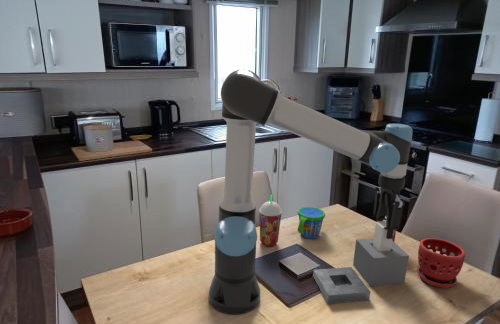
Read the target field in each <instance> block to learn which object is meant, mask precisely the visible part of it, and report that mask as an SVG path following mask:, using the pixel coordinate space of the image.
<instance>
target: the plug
mask: <svg viewBox="0 0 500 324" xmlns="http://www.w3.org/2000/svg"><path fill="white" fill-rule="evenodd" d="M374 227H375V228H374V235H373V238H374V240H373V247H374V248H375V249H376V250H377V251H378V252H387V251H390V250H391V247H382V240H383V233H384V227H386V222H377V221H376V223H375V226H374ZM394 231H395V230H394ZM394 231H393V236H394ZM391 244H392V241H391Z"/></svg>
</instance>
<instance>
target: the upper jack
mask: <svg viewBox="0 0 500 324" xmlns="http://www.w3.org/2000/svg"><path fill="white" fill-rule="evenodd" d="M373 240H374V237H372V238H358V239H355V247H354V254H353V260H352V262H353V263H352V265H353V267H354V269H356V271H357V272H358V274H360V277H362V279H363V280H364V281H365V282H366V284H367V285H368V286H369V287H374V286H376V287H377V286H388V285H401V284H405V281H406V276H407V270H408V264H409V260H410V259H409V258H410V255H409V254H408V253H407V252H405V250H403V248H401V247H400V246H399V245H398V244H397V243H396V242H395V241H394V242H393V241H392V244H391V250H390V251H387V252H378V251H377V250H376V249H375V248H374V247H373Z"/></svg>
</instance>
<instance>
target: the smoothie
mask: <svg viewBox="0 0 500 324" xmlns="http://www.w3.org/2000/svg"><path fill="white" fill-rule="evenodd" d="M258 213H259V241H260V243H261V245H262V246H264V247H267V248H272V247H275V246H276V245H277V243H279V235H280V227H281V219H282V213H283V210H282V209H281V207H280V204H278V202H275V201H273V194H270V196H269V200H268V201H266V202H264V203H263V204H262V205H261V207H260V208H259V209H258Z"/></svg>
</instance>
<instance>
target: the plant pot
mask: <svg viewBox="0 0 500 324" xmlns="http://www.w3.org/2000/svg"><path fill="white" fill-rule="evenodd" d="M436 247H437V248H436ZM443 249H445V250H446V251H443ZM417 251H418V253H417V259H418V260H417V262H418V268H417V270H416V271H417V275H418V277H420V279H421V280H422V281H423V282H425V283H427V284H429V285H431V286H434V287H438V288H441V289H442V288H450V287H454V286H455V285H456V284H457V282H458V279H457V276H458V275H459V274H460V272H461V270H462V268H463V265H464V261H465V257H466V252H465V250H464V249H463V248H462V247H461V246H460V245H457V244H456V243H455V242H451V241H449V240H446V239H440V238H430V237H429V238H427V237H426V238H423V239H421V240H420V242H419V245H418V250H417ZM437 252H439V253H437ZM451 254H454V255H453V256H451Z"/></svg>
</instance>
